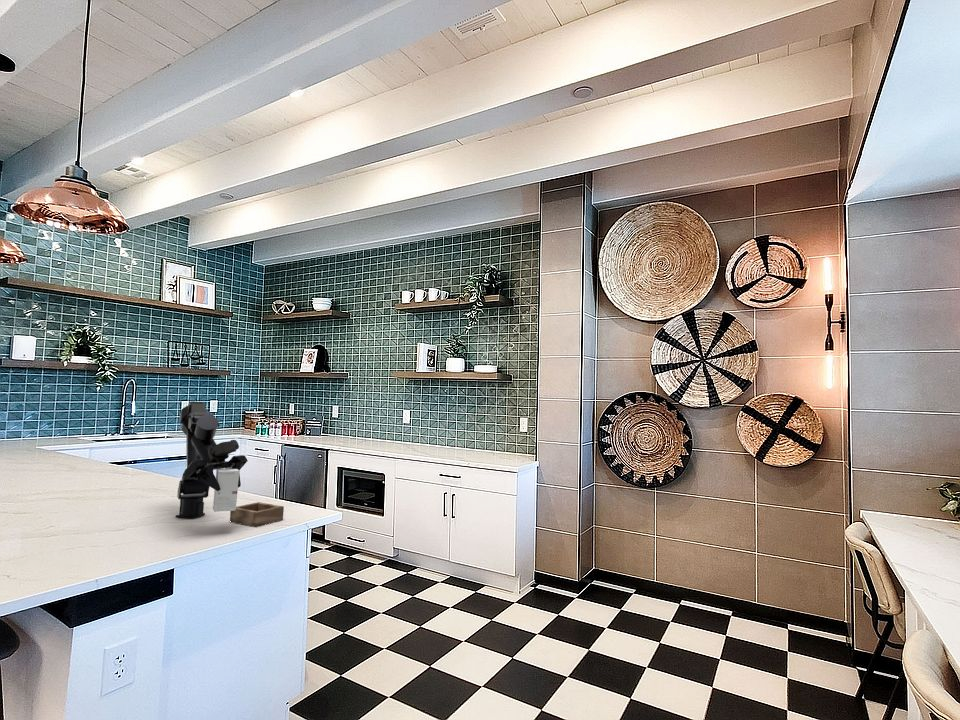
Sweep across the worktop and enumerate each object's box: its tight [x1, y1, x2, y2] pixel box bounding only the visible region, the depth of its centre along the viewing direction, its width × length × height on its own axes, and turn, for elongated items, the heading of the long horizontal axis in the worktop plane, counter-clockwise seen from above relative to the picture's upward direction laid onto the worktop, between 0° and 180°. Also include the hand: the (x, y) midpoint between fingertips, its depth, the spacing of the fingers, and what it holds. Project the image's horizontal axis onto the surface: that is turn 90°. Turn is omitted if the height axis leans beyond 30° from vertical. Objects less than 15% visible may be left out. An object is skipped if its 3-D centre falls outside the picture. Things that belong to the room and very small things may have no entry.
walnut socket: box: [229, 501, 285, 528], centre depth 179 cm, size 12×12×4 cm
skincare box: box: [212, 468, 239, 513], centre depth 164 cm, size 6×4×12 cm
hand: (229, 488), depth 163 cm, fingers closed on skincare box, 7 cm apart
